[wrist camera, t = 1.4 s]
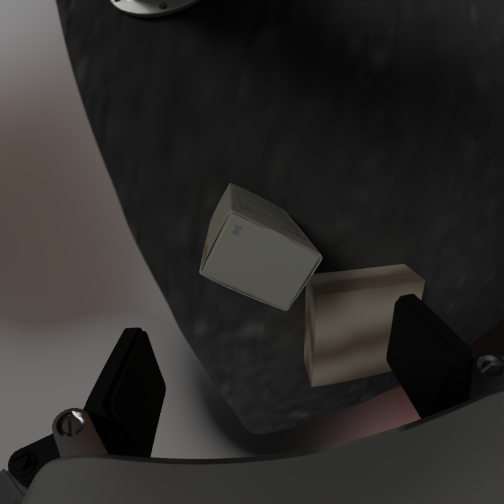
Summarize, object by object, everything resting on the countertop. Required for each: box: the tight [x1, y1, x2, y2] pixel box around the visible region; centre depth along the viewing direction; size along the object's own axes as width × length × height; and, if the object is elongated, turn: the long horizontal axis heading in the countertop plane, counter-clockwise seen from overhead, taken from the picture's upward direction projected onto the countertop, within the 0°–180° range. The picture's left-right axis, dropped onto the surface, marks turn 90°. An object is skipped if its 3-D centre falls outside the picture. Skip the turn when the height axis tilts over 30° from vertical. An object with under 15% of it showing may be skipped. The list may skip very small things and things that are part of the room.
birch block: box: [304, 264, 425, 387], centre depth 31 cm, size 12×12×5 cm
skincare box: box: [199, 183, 322, 311], centre depth 22 cm, size 6×4×12 cm, turn 62°
